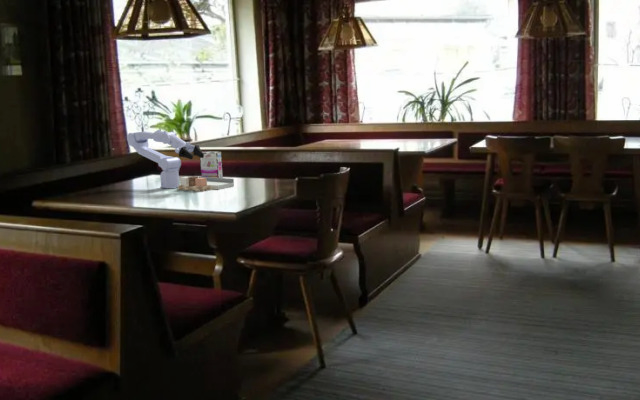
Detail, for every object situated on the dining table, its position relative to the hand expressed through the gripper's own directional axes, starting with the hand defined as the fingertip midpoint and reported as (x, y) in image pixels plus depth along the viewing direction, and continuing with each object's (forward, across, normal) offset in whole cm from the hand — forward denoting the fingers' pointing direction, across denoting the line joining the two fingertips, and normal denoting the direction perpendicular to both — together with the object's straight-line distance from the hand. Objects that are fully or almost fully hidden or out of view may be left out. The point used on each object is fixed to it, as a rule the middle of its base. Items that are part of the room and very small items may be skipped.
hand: (197, 156), depth 349 cm
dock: (+4, +11, +17) cm, 20 cm away
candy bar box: (-8, +26, +22) cm, 36 cm away
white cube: (-2, 0, +17) cm, 17 cm away
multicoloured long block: (+4, 0, +17) cm, 18 cm away
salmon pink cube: (+8, 0, +13) cm, 15 cm away
